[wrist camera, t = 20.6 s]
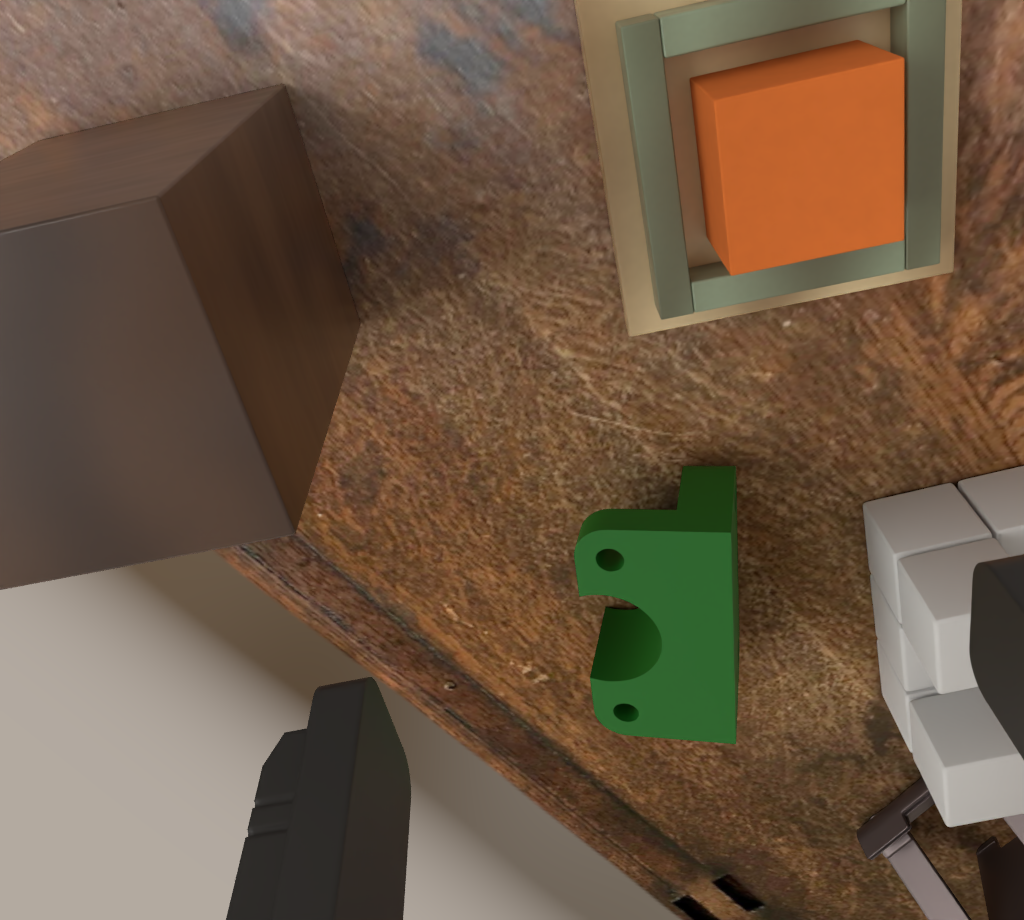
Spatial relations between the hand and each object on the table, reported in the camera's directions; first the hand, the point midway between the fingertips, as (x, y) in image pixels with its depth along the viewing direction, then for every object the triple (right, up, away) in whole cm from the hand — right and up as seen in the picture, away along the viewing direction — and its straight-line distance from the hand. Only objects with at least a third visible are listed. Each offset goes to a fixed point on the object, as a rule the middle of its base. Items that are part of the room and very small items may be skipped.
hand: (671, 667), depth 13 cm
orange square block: (+7, +14, +19) cm, 25 cm away
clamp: (+4, -2, +30) cm, 30 cm away
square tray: (+7, +14, +20) cm, 26 cm away
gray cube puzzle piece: (+20, -2, +31) cm, 37 cm away
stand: (-13, +11, +22) cm, 28 cm away
